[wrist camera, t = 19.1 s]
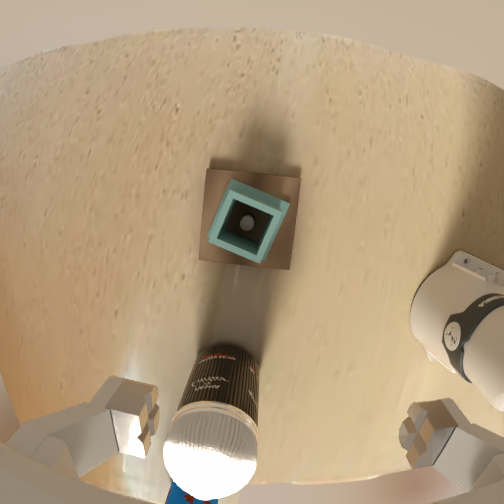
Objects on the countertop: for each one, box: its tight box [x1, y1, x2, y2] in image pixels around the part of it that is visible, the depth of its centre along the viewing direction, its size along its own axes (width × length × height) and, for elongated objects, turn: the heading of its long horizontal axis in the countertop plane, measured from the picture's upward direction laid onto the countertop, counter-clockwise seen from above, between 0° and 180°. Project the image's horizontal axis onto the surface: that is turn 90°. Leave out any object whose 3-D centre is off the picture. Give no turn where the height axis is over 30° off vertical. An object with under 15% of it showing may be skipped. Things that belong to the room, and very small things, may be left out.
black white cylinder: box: [163, 343, 259, 500], centre depth 35 cm, size 10×10×25 cm
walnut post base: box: [199, 169, 301, 270], centre depth 40 cm, size 12×12×6 cm
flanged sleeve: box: [207, 179, 290, 264], centre depth 38 cm, size 8×8×8 cm
